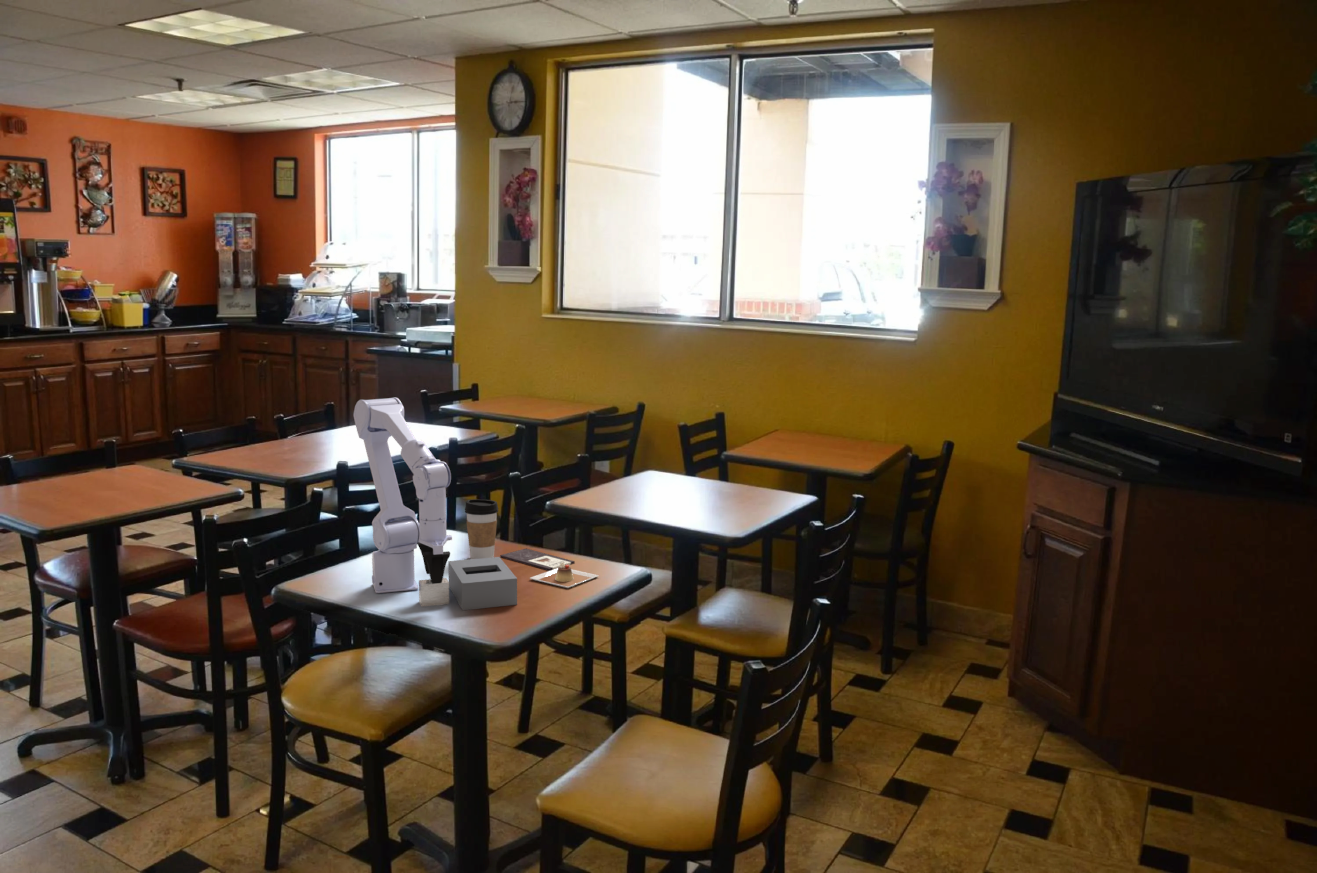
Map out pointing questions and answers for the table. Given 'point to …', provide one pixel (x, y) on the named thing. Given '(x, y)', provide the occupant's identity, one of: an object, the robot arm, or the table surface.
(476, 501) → the coffee cup
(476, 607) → the grey tissue box
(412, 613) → the table surface
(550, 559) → the chocolate bar
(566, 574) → the dessert
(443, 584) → the cream block
